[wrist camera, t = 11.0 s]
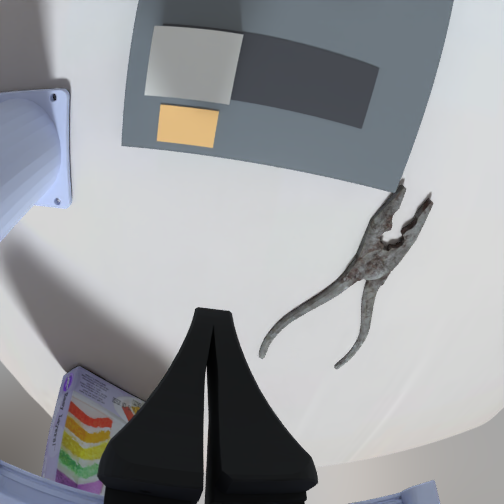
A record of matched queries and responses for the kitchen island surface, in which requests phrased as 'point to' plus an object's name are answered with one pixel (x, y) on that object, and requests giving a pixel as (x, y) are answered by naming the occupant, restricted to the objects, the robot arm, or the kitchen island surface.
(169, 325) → the kitchen island surface
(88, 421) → the cake pan box
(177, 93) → the tab
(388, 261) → the pliers
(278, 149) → the panel
